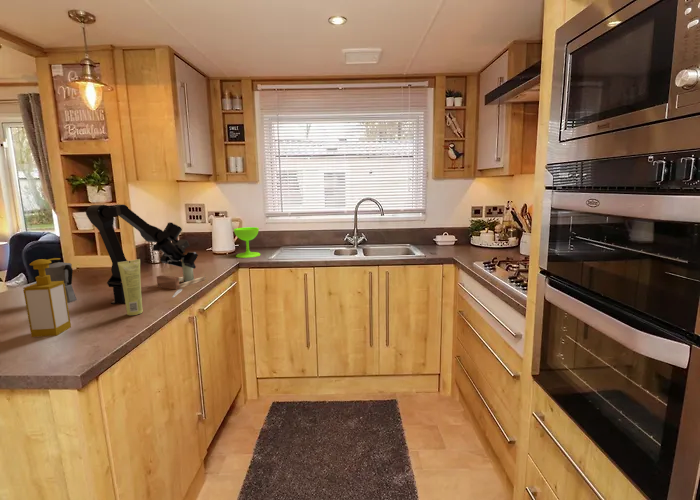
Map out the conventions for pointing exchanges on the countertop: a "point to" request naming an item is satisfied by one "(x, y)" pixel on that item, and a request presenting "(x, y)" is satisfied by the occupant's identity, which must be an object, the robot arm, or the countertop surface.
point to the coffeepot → (62, 277)
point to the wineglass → (247, 240)
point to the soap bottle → (46, 303)
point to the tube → (131, 286)
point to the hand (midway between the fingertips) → (189, 267)
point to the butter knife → (177, 292)
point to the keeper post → (187, 273)
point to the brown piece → (175, 282)
